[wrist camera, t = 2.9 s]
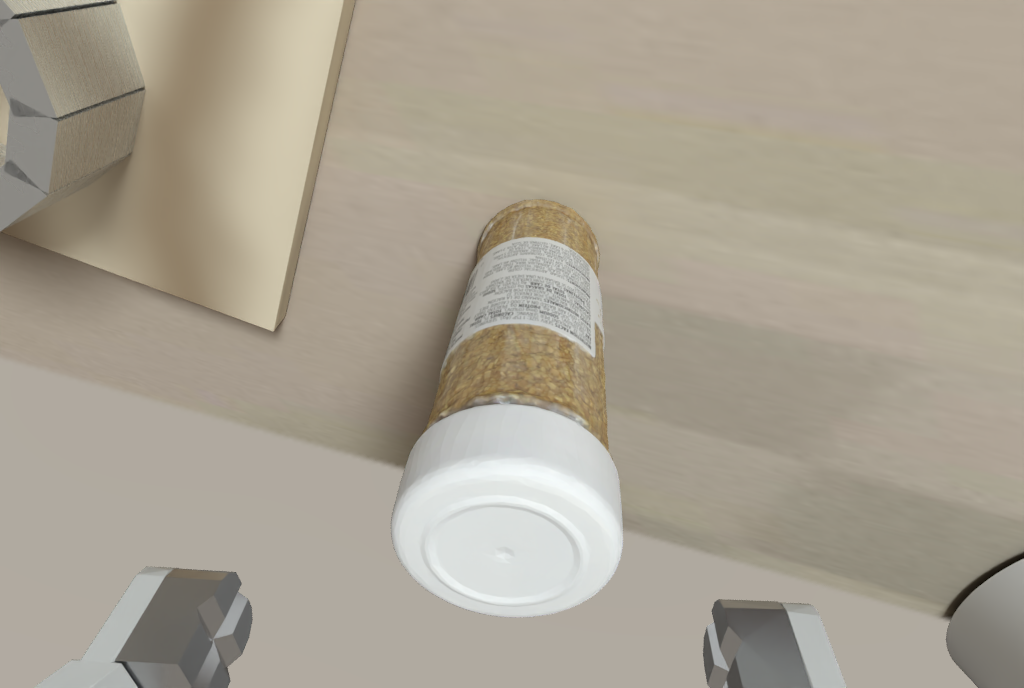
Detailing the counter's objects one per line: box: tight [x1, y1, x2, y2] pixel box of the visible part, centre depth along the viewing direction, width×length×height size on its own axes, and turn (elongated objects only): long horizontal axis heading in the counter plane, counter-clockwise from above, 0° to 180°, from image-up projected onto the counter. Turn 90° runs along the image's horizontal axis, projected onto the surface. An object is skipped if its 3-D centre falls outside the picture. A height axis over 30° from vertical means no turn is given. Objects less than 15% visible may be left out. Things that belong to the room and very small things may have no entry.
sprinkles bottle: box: [391, 200, 623, 618], centre depth 17 cm, size 5×5×14 cm
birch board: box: [0, 0, 355, 332], centre depth 20 cm, size 20×14×1 cm
